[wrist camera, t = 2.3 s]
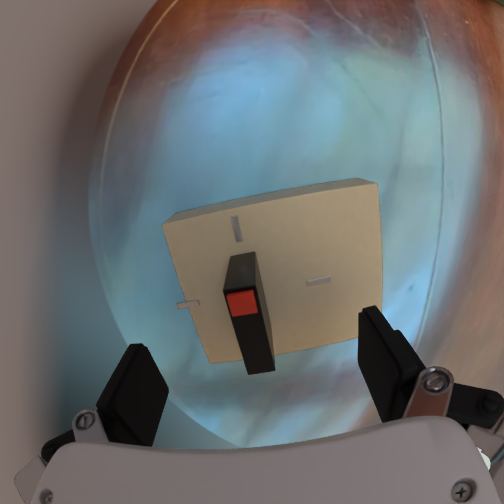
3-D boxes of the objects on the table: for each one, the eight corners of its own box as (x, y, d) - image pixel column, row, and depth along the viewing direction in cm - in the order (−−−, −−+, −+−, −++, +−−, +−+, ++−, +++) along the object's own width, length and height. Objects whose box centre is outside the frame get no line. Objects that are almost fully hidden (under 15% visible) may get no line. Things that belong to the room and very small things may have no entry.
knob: (271, 326, 17) (275, 374, 13) (249, 329, 17) (247, 378, 13) (255, 251, 15) (255, 287, 11) (229, 255, 15) (221, 293, 11)
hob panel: (207, 339, 21) (201, 366, 18) (167, 215, 17) (150, 227, 14) (366, 309, 20) (381, 332, 17) (358, 177, 16) (378, 183, 13)
